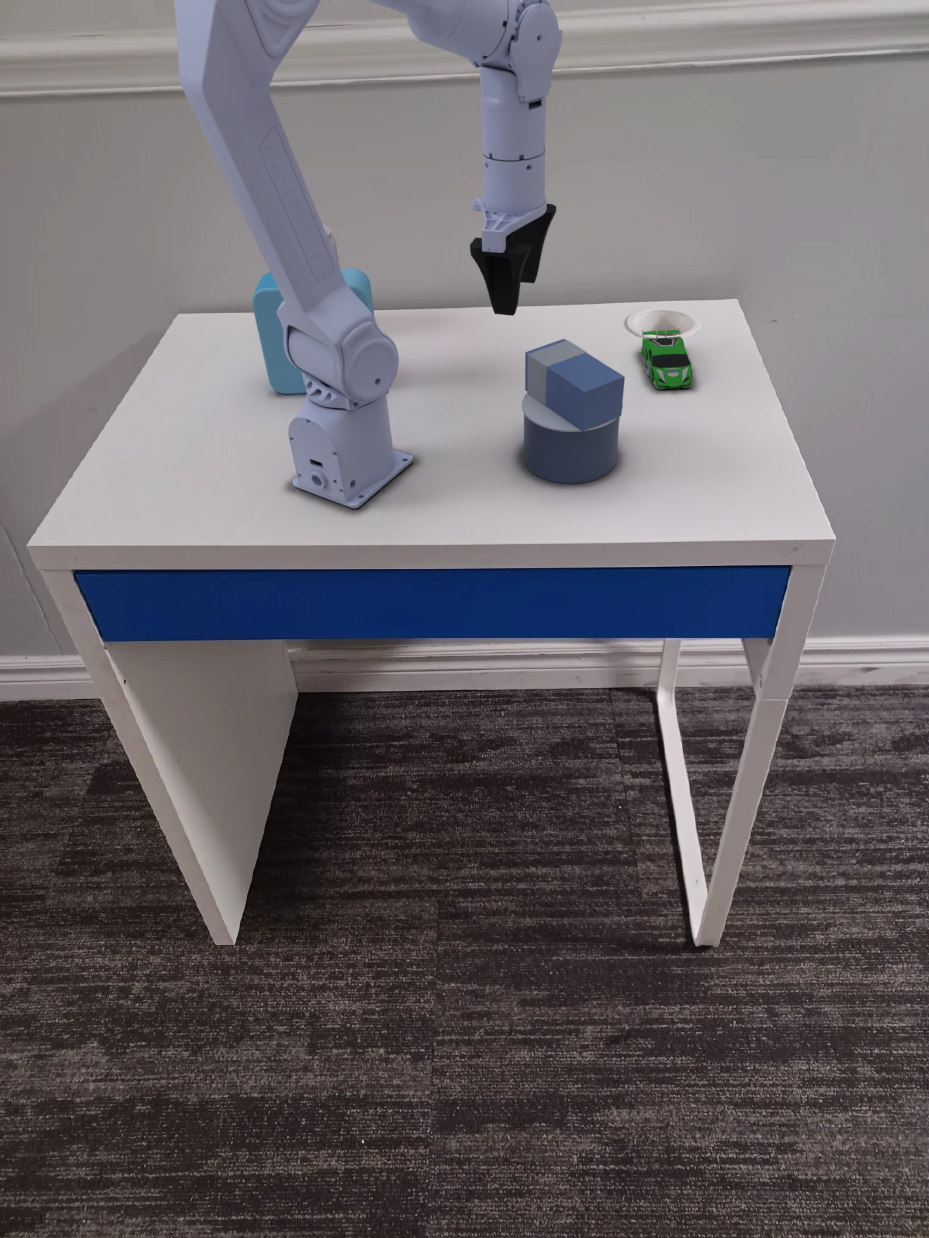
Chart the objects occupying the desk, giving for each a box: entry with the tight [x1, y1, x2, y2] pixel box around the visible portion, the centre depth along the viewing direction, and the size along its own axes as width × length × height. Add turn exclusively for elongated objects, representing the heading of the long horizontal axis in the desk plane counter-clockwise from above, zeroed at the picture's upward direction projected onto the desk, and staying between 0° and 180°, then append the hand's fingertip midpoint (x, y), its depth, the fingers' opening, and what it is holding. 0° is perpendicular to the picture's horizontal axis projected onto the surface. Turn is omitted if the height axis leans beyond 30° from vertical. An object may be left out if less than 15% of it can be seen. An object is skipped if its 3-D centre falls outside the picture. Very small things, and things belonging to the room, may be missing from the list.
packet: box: [524, 338, 626, 431], centre depth 82 cm, size 5×9×4 cm, turn 32°
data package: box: [251, 268, 376, 395], centre depth 96 cm, size 12×4×12 cm, turn 90°
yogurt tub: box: [521, 391, 624, 485], centre depth 85 cm, size 9×9×6 cm
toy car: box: [641, 328, 693, 390], centre depth 98 cm, size 10×5×2 cm, turn 1°
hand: (515, 297), depth 90 cm, fingers open, 7 cm apart
